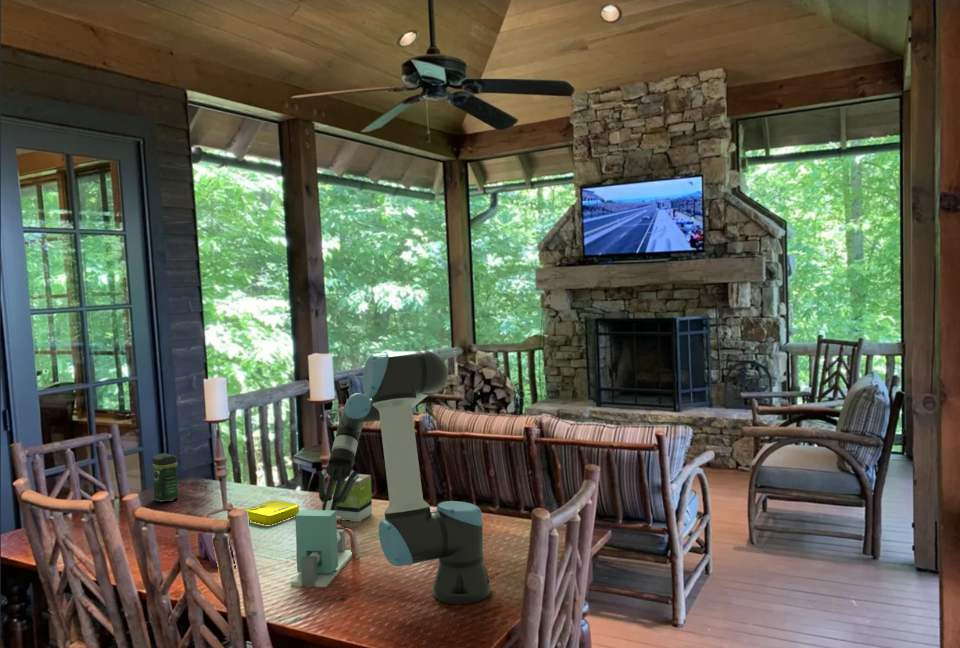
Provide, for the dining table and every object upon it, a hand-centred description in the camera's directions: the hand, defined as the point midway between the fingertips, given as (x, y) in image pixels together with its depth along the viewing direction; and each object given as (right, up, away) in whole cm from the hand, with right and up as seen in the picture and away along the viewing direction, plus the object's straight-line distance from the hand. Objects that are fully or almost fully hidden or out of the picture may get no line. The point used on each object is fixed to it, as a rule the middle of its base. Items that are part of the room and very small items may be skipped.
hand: (326, 523), depth 198 cm
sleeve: (-1, -11, -7) cm, 13 cm away
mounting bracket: (-33, -14, +8) cm, 37 cm away
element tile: (-30, -13, +47) cm, 58 cm away
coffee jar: (-80, -12, +74) cm, 110 cm away
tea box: (-3, -11, +46) cm, 48 cm away
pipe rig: (0, -13, -2) cm, 13 cm away
